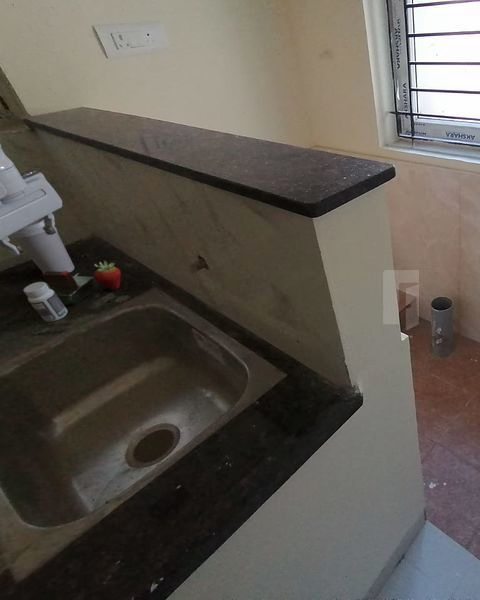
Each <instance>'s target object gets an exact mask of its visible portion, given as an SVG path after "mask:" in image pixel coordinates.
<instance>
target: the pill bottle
mask: <svg viewBox="0 0 480 600" xmlns="http://www.w3.org/2000/svg"><path fill="white" fill-rule="evenodd" d="M46 284H47V282H44V281H37V282H33V283H30V284H29V285H26V286H25V287H24V288H23V293H24V294H25V295H26V296H27V301H28V303H30V305H31V306H32V307H33V309H34V310H35V311H36V312H37V314H38V315H39V316H40V317H41V318H42V320H43V321H44V322H45V323H46V322H47V323H52V322H56V321H59V320H61V319H63V318H65V317H66V316H67V314H68V312H69V311H68V309H67V308H66V305H63V303H62V302H61V301H60V299H59V298H58V297H57V295H56V294H55V292H54V291H53V290H52V289H49V287H48V286H47V285H46Z"/></svg>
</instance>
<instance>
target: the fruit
mask: <svg viewBox="0 0 480 600" xmlns="http://www.w3.org/2000/svg"><path fill="white" fill-rule="evenodd" d="M93 265H94V266H95V267H97V268H98V269H97V270H95V271H94V273H93V277H94V278H95V280H96V281H97V283H98V284H101V285H102V286H104V287H105V288H107V289H109V290H112V291H113V290H115V291H116V290H118V289H119V288H120V286H121V276H122V273H121V270H120V269H119V268H118V267H117V266H115V265H116V263H115V262H110V263H109V264H108V262H107V260H105V259H104V260H103V263H102V262H101V261H99V265H98V264H97V263H94V264H93Z"/></svg>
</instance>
